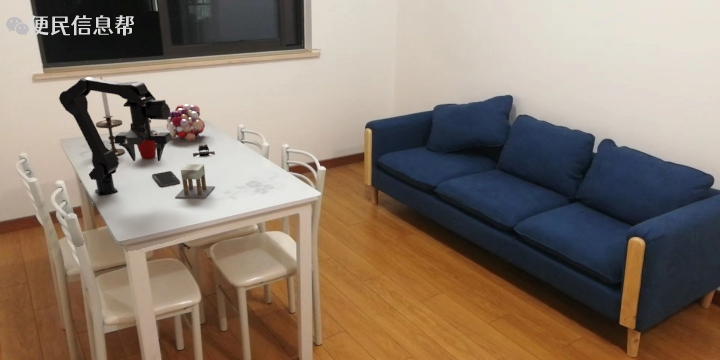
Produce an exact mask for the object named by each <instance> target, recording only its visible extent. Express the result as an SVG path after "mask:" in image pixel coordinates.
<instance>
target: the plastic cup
mask: <svg viewBox="0 0 720 360" xmlns="http://www.w3.org/2000/svg"><path fill="white" fill-rule="evenodd" d="M151 131H153V134H151V135H157V134H158V133H159V130H157V129H151ZM155 144H157V143H156V142H155V141H142V144H140V145H137V148H138V152H139V154H140V157H141V159H142V160H153V159H155V158H156V157H157V149H156V147H155Z"/></svg>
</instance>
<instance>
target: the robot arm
mask: <svg viewBox="0 0 720 360" xmlns="http://www.w3.org/2000/svg"><path fill="white" fill-rule="evenodd" d="M91 91H92V92H99V93H101V92H104V93H106V94H111V95H117V96H119V97H120V98H122V99H123V100H126V102H125V103H123V107H124V108H125V107H129V110H130V118H131V123H130V124H129V125H130V130H128V131H121V132H119V133H118V134H115V135H114V136H115V138H114V142H115V144H116V145H119V146H120V147H123V148H124V150H126V151H127V153H128V155H129V157H130V158H131V160H132V161H133V162H135V161H136V158H137V157H136V149H135V145H140V144H142V141H155V142H156V144H155V147H156V158H157V162H160V161H161V160H162V155H163V153H164V149H165V147H166V145H167V144H168V143H170V142H171V141H172V140H173V138H172V136H171V134H170V131H169V132H164V131H163V132H158V133H157V135H151V134H153V131H151V130H152V129H151V123H152V120H162V121H163V120H164V121H167V119H168V118H169V116H170V112H171V108H170V106H169V104H168V103H166V99H160V100H159V99H156V98H155V96H154V95H153V94H152V93H151V91H150V90H149V89H148V86H146V84H145V83H144V82H142V81H129V82H128V81H126V82H119V81H113V80H107V79H103V78H102V79H101V78H96V77H93V76H87V77H83V78H80V79H79V80H78V81H77V82H76V83H74V84H73V85H72V86H70V87H69V88H68V89H67V90H63V91H62V92H61V93H60V94H59V97H58V100H59V103H60V104H61V105H62V107H63V108H64V109H65V111H66V112H68V113H69V114H70V115H72V116H73V119H74V120H75V122H76V124H77V125H78V128H79V130H80V132H81V134H82V136H83V138H84V140H85V142H86V144H87V145H88V147H89V149H90V151H91V154H92V155H91V162H92V166H93V168H92V170H91V171H90V172H89V173H88V176H89V178H90V180H93V181H95V183H96V189H95V190H94V191H95V192H96V194H98V196H100V197H101V196H105V195H109V194H112V193H118V191H119V190H118V189H117V188H115V184H114V179H113V175H114V174H115V173H117V169H118V168H119V165H120V163H119V160H120V159H119V156H116V154H115V151H114V150H111V149H109V148H107V147H106V146H105V145H106V144H105V143H104V142H103V139H102V137H101V136H100V133H99V131H98V129H97V127H96V124H95V123H94V121H93V120H92V117H91V115H90V113H89V111H88V110H89V109H88V105H89V102H88V99H87V96H88V95H89V94H90V93H91ZM115 144H114V145H115ZM110 150H111V151H110Z"/></svg>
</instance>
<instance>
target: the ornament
mask: <svg viewBox="0 0 720 360" xmlns="http://www.w3.org/2000/svg"><path fill="white" fill-rule="evenodd" d="M200 111H201V110H200V107H199V106H198V105H196V104H192V105H190V104H189V103H186V104H184V105H183V104H179V105H177V106H176V108H175V110H174V111H170V116H169V118H168V119H167V120H166V122H167V124H166V129H167V130H168V131H169V133H170V134H171V136H172V139H176V138H180V139H184V138H185V140H186V141H187V142H189V143H190V142H194V141H195V140H196V138H198V137H199V135H200V134H202V133H203V132H204V130H205V126H206V123H205V122H204V120H202V118H200V115H201V113H200Z"/></svg>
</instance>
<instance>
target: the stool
mask: <svg viewBox="0 0 720 360" xmlns="http://www.w3.org/2000/svg"><path fill="white" fill-rule="evenodd" d="M205 171H206V170H205V163H204V164H196V163H188V164H185V166H183V168H182V169H180V175H181V181H182V188H183V189H184V194H186V195H188V193H189V192H188V186H189V189H191V190H192V189H193V186H194V183H193V180H195V181H196V182H195V183H196V185H195V186H197V193H198V195H201V194H202V190H206V186H207V182H206V172H205ZM201 186H202V189H201Z"/></svg>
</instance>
